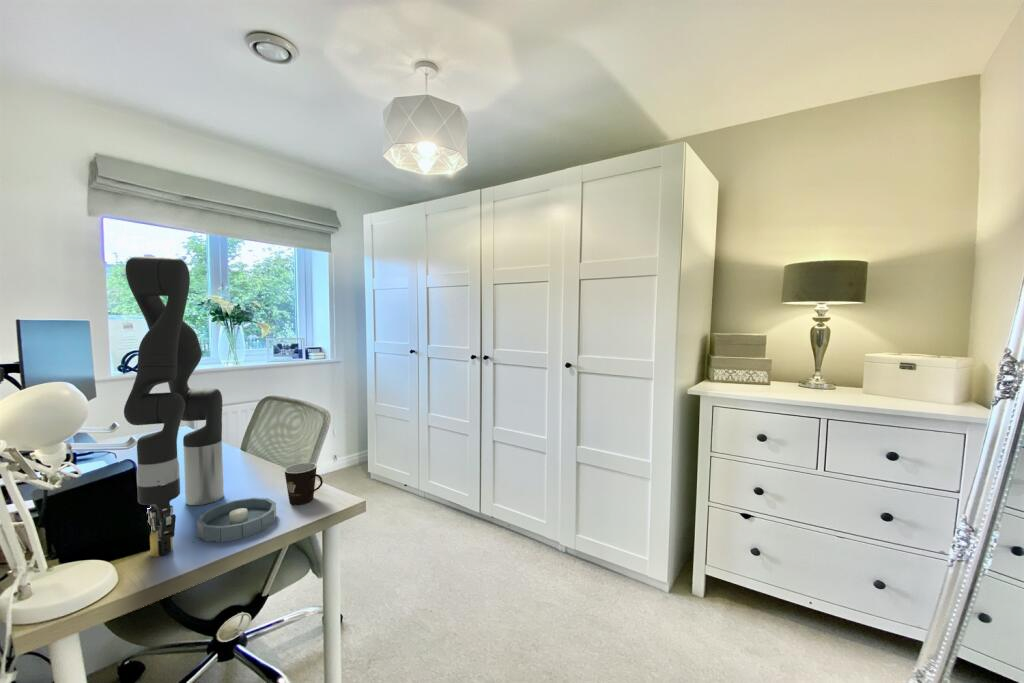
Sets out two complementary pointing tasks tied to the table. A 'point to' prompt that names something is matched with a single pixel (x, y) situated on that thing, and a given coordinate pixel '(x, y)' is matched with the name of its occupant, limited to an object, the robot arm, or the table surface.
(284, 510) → the table surface
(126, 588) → the table surface
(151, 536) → the bead
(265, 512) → the groove dish
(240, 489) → the table surface
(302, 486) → the coffee mug
